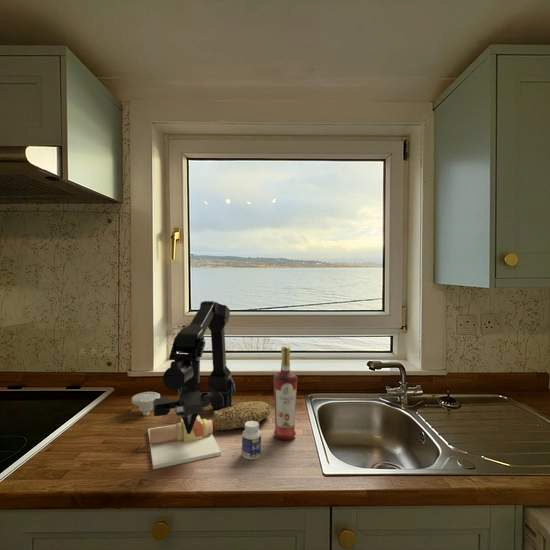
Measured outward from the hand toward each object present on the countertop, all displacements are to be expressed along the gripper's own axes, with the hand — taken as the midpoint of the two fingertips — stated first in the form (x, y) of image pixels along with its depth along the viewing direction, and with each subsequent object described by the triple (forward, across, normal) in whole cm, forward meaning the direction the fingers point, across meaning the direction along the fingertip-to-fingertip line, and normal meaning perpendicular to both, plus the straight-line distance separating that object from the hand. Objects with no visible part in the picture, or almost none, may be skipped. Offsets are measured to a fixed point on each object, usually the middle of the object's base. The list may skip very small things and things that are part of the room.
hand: (188, 433), depth 99 cm
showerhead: (+7, -9, +33) cm, 35 cm away
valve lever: (0, +3, +4) cm, 5 cm away
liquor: (+6, +30, 0) cm, 30 cm away
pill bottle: (+7, +16, -6) cm, 19 cm away
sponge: (+7, +20, +14) cm, 25 cm away
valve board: (+6, 0, +8) cm, 10 cm away
